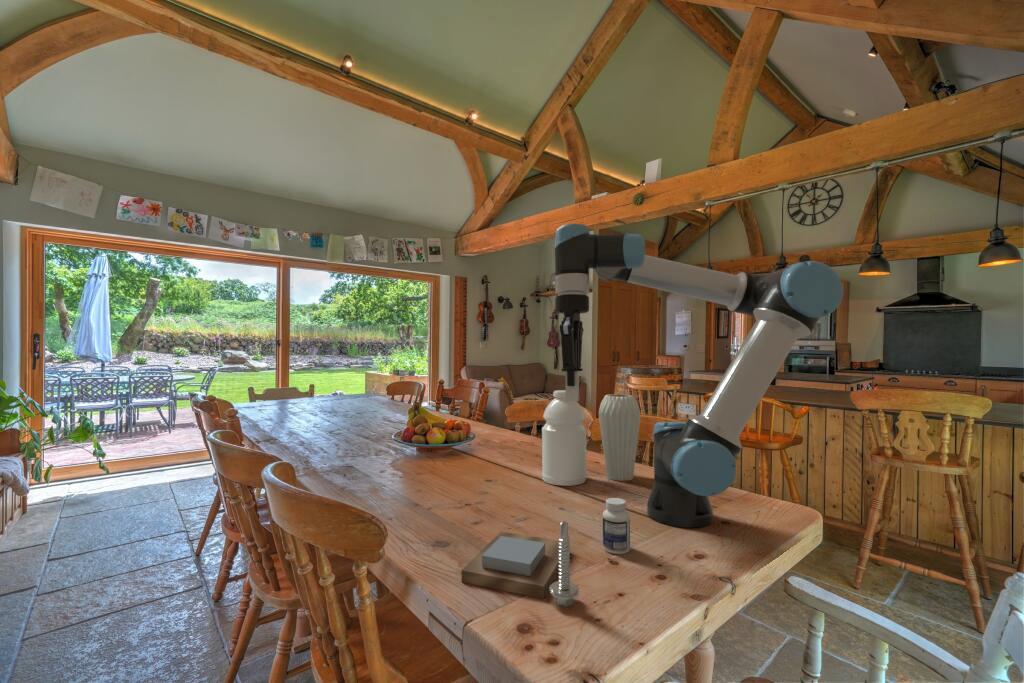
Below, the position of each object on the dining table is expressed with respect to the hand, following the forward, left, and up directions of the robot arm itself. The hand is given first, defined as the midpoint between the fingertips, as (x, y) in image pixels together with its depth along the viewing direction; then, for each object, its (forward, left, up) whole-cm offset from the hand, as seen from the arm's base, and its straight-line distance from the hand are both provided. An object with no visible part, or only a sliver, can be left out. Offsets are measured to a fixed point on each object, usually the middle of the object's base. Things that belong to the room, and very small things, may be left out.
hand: (572, 400), depth 99 cm
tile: (+6, +16, -26) cm, 31 cm away
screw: (-5, +27, -30) cm, 40 cm away
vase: (-4, -49, -30) cm, 57 cm away
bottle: (+12, -40, -30) cm, 51 cm away
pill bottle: (-10, +4, -30) cm, 32 cm away
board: (+6, +18, -29) cm, 35 cm away
